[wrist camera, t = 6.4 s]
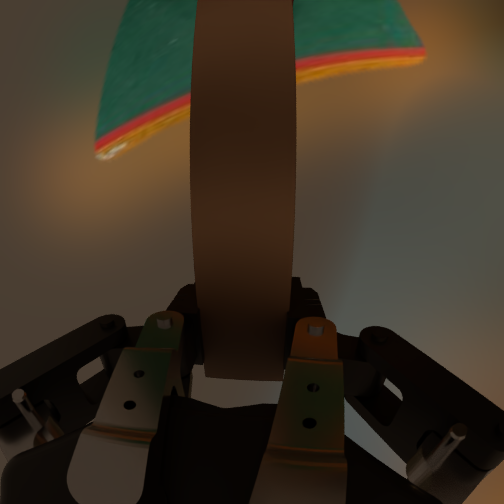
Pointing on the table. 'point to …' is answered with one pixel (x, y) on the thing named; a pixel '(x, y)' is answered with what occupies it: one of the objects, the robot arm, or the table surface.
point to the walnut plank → (243, 183)
